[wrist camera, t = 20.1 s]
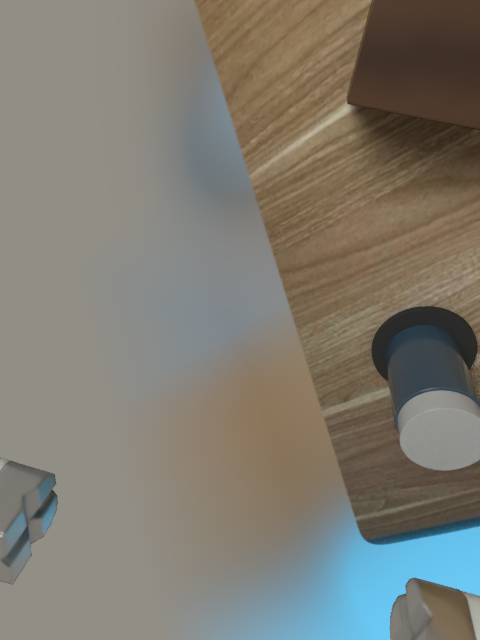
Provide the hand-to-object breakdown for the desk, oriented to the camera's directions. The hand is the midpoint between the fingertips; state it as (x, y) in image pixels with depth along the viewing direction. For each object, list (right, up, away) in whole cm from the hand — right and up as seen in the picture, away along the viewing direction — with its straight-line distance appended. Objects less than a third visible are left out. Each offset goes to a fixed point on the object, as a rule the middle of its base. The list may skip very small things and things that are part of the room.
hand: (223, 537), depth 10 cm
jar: (+16, -2, +32) cm, 36 cm away
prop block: (+14, +23, +20) cm, 33 cm away
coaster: (+17, +2, +31) cm, 36 cm away
